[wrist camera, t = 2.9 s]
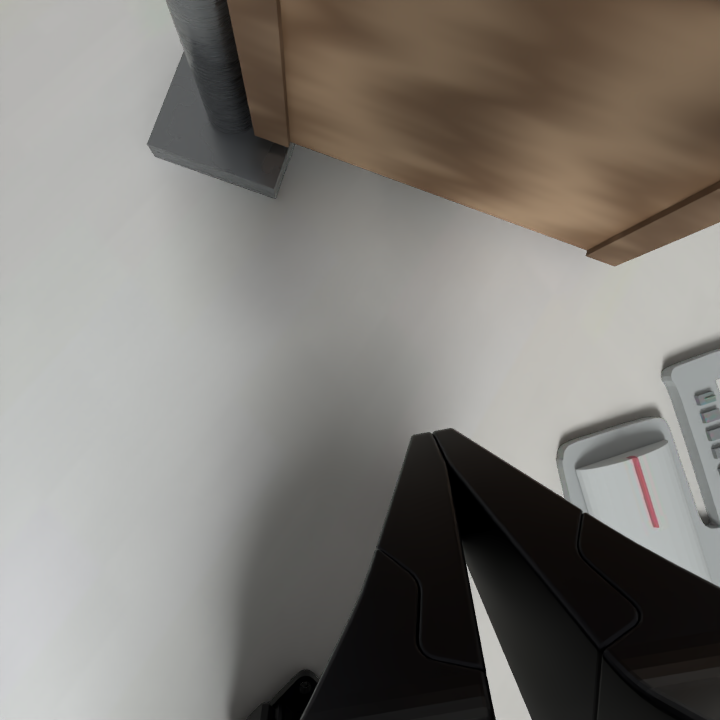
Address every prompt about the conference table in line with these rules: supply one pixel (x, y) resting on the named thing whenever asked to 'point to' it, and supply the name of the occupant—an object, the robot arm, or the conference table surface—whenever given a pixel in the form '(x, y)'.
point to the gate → (506, 105)
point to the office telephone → (657, 472)
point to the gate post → (213, 106)
